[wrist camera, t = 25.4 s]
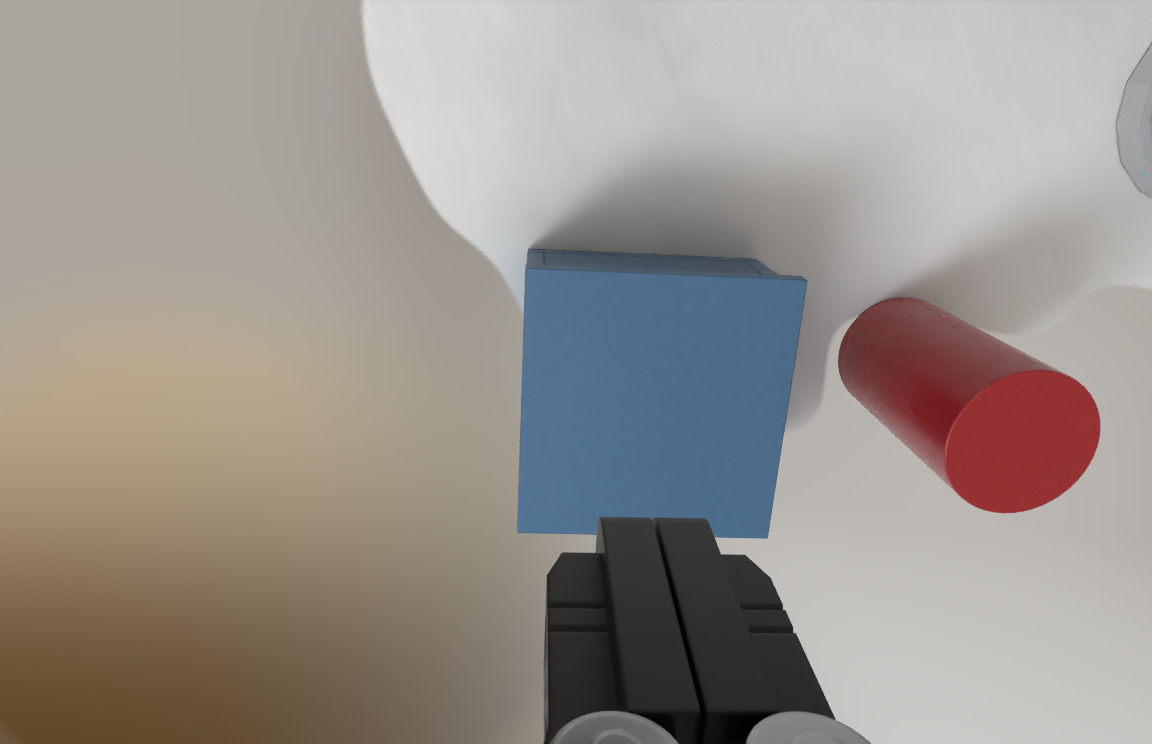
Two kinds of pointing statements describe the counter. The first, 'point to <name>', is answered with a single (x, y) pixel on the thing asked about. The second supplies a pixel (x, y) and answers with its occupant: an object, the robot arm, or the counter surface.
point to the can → (970, 405)
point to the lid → (654, 396)
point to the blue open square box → (646, 261)
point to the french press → (1137, 125)
